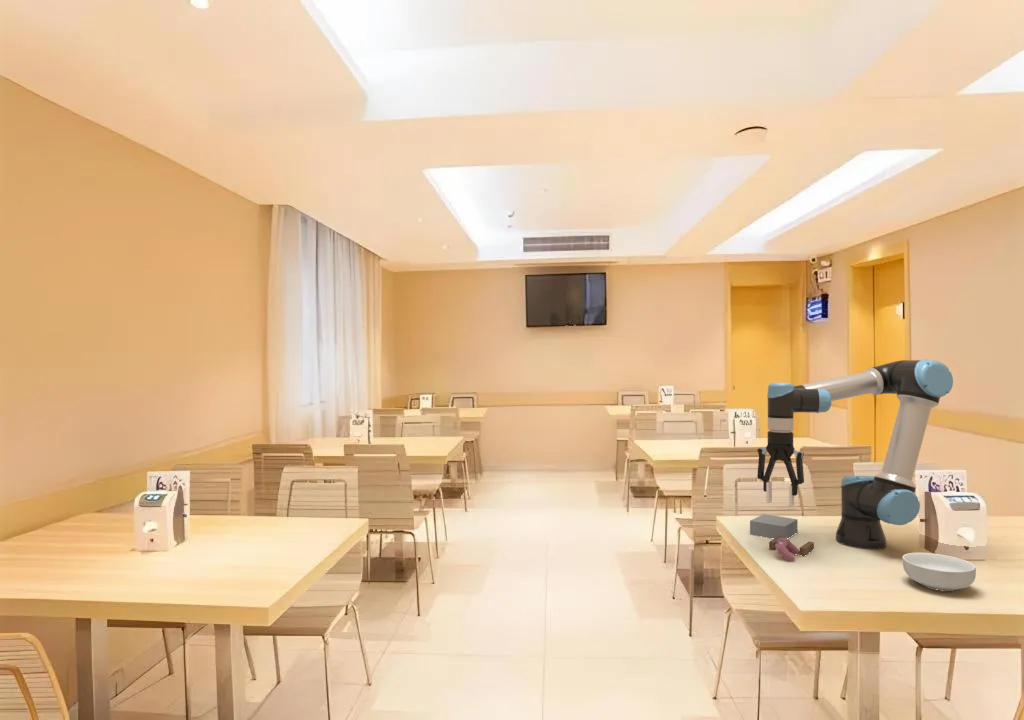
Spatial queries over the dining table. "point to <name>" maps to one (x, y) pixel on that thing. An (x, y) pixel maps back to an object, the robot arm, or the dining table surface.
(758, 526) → the charcoal stand
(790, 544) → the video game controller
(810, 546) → the walnut guide rails
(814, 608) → the dining table surface
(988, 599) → the dining table surface
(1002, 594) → the dining table surface
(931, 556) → the cereal bowl
